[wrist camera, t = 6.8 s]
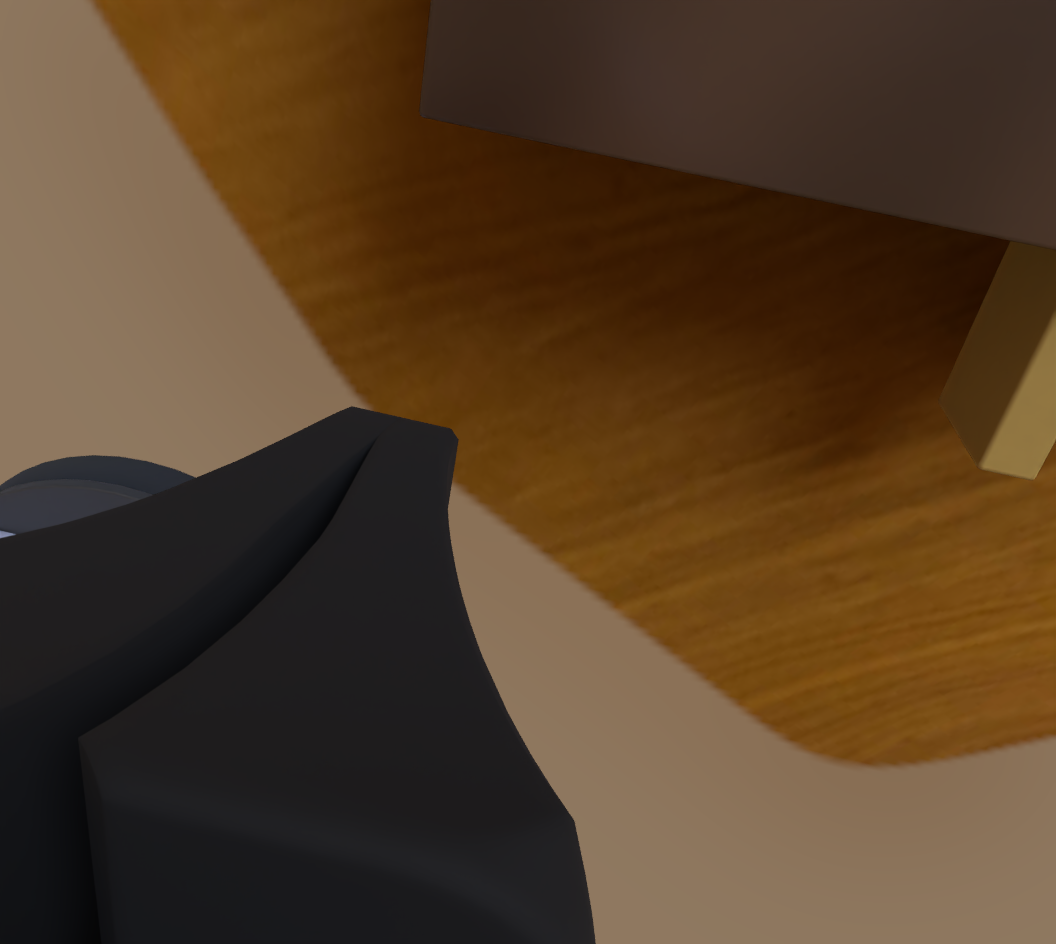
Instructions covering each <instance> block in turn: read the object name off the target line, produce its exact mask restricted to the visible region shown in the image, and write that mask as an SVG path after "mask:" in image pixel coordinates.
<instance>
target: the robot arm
mask: <svg viewBox="0 0 1056 944" xmlns="http://www.w3.org/2000/svg"><path fill="white" fill-rule="evenodd" d="M457 446H458V438H457V437H456V435H455V434H454V432H453V431H452V430H451V429H450V428H445V427H441V426H437V425H432V424H428V423H423V422H419V421H414V420H410V419H406V418H401V417H397V416H392V415H388V414H383V413H379V412H374V411H370V410H366V409H361V408H357V407H349V408H347V409H344V410H342V411H339V412H337V413H335V414H333V415H331V416H329V417H327V418H325V419H323V420H321V421H318V422H317V423H314V424H313V425H311V426H308V427H307V428H304V429H303V430H301V431H298V432H297V433H294V434H292V435H291V436H288V437H286V438H284V439H282V440H280V441H278V442H276V443H274V444H272V445H269V446H267V447H265V448H263V449H261V450H259V451H257V452H255V453H253V454H251V455H249V456H246V457H244V458H242V459H240V460H238V461H236V462H233V463H231V464H228V465H226V466H224V467H221V468H219V469H216V470H214V471H212V472H209V473H207V474H204V475H202V476H199V477H197V478H195V479H192V480H190V481H187V482H185V483H183V484H180V485H178V486H175V487H173V488H171V489H168V490H165V491H163V492H160V493H157V494H155V495H152V496H149V497H146V498H143V499H140V500H137V501H134V502H132V503H129V504H126V505H123V506H119V507H116V508H113V509H110V510H106V511H103V512H100V513H97V514H93V515H90V516H87V517H83V518H80V519H77V520H73V521H70V522H66V523H62V524H59V525H54V526H50V527H46V528H41V529H37V530H33V531H29V532H24V533H20V534H13V533H8V532H4V531H0V944H596V943H595V934H594V926H593V918H592V911H591V905H590V899H589V893H588V887H587V882H586V875H585V870H584V866H583V861H582V856H581V851H580V846H579V841H578V836H577V832H576V827H575V822H574V820H573V818H572V817H571V815H570V814H569V813H568V811H567V809H566V808H565V806H564V805H563V803H562V802H561V801H560V799H559V798H558V796H557V795H556V793H555V792H554V790H553V789H552V787H551V786H550V784H549V783H548V781H547V779H546V778H545V776H544V775H543V773H542V771H541V770H540V768H539V767H538V765H537V763H536V762H535V760H534V759H533V757H532V755H531V754H530V752H529V750H528V748H527V747H526V745H525V743H524V741H523V739H522V738H521V736H520V734H519V732H518V731H517V729H516V727H515V725H514V723H513V721H512V719H511V718H510V716H509V714H508V712H507V710H506V708H505V706H504V703H503V701H502V699H501V697H500V694H499V692H498V690H497V688H496V686H495V683H494V681H493V679H492V677H491V675H490V673H489V670H488V668H487V666H486V664H485V662H484V659H483V657H482V654H481V652H480V649H479V646H478V644H477V641H476V638H475V635H474V632H473V629H472V626H471V624H470V621H469V617H468V614H467V611H466V607H465V604H464V600H463V597H462V593H461V590H460V585H459V582H458V577H457V572H456V568H455V562H454V556H453V551H452V546H451V539H450V531H449V521H448V504H449V497H450V491H451V485H452V478H453V472H454V465H455V459H456V452H457Z"/></svg>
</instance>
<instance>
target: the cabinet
mask: <svg viewBox="0 0 1056 944" xmlns="http://www.w3.org/2000/svg"><path fill="white" fill-rule="evenodd" d="M419 112H420V115H421V116H422V117H424V118H428V119H433V120H438V121H442V122H447V123H452V124H457V125H461V126H466V127H471V128H476V129H480V130H485V131H490V132H495V133H499V134H504V135H509V136H514V137H519V138H523V139H528V140H533V141H538V142H542V143H547V144H552V145H557V146H561V147H566V148H571V149H576V150H580V151H585V152H590V153H595V154H599V155H604V156H609V157H614V158H619V159H623V160H628V161H633V162H638V163H642V164H647V165H652V166H657V167H661V168H666V169H671V170H676V171H680V172H685V173H690V174H695V175H699V176H704V177H709V178H714V179H719V180H723V181H728V182H733V183H738V184H742V185H747V186H752V187H757V188H761V189H766V190H771V191H776V192H780V193H785V194H790V195H795V196H800V197H804V198H809V199H814V200H819V201H823V202H828V203H833V204H838V205H842V206H847V207H852V208H857V209H861V210H866V211H871V212H876V213H880V214H885V215H890V216H895V217H900V218H904V219H909V220H914V221H919V222H923V223H928V224H933V225H938V226H942V227H947V228H952V229H957V230H961V231H966V232H971V233H976V234H980V235H985V236H990V237H995V238H1000V239H1004V240H1009V241H1014V242H1019V243H1023V244H1028V245H1033V246H1038V247H1042V248H1047V249H1052V250H1056V0H431V2H430V12H429V21H428V31H427V41H426V50H425V60H424V69H423V79H422V89H421V98H420V108H419Z"/></svg>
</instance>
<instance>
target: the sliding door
mask: <svg viewBox="0 0 1056 944" xmlns="http://www.w3.org/2000/svg"><path fill="white" fill-rule="evenodd" d="M939 405H940V406H941V408H942V409H943V411H944V413H945V414H946V416H947V418H948V419H949V421H950V423H951V424H952V426H953V428H954V429H955V431H956V433H957V434H958V436H959V438H960V439H961V441H962V443H963V444H964V446H965V448H966V449H967V451H968V453H969V454H970V456H971V458H972V459H973V461H974V462H975V464H976V466H977V467H978V468H979V469H981V470H986V471H990V472H995V473H999V474H1004V475H1008V476H1013V477H1018V478H1022V479H1027V480H1033V479H1035V478H1036V476H1037V474H1038V472H1039V470H1040V468H1041V466H1042V465H1043V463H1044V461H1045V459H1046V457H1047V455H1048V454H1049V452H1050V450H1051V448H1052V446H1053V444H1054V442H1055V441H1056V250H1052V249H1047V248H1042V247H1038V246H1033V245H1028V244H1023V243H1019V242H1014V241H1010V243H1009V245H1008V247H1007V249H1006V252H1005V254H1004V256H1003V258H1002V261H1001V263H1000V265H999V267H998V269H997V272H996V274H995V276H994V278H993V280H992V283H991V285H990V287H989V289H988V292H987V294H986V296H985V298H984V300H983V303H982V305H981V307H980V309H979V311H978V314H977V316H976V318H975V320H974V322H973V325H972V327H971V329H970V331H969V334H968V336H967V338H966V340H965V342H964V345H963V347H962V349H961V351H960V353H959V356H958V358H957V360H956V362H955V365H954V367H953V369H952V371H951V373H950V376H949V378H948V380H947V382H946V384H945V387H944V389H943V391H942V393H941V396H940V398H939Z"/></svg>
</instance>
